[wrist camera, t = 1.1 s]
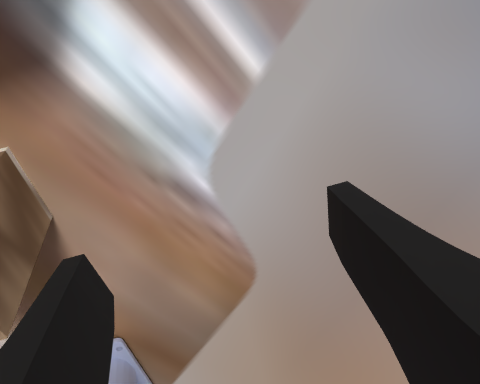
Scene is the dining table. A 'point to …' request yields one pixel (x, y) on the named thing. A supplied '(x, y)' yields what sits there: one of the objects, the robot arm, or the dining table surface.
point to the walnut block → (17, 235)
